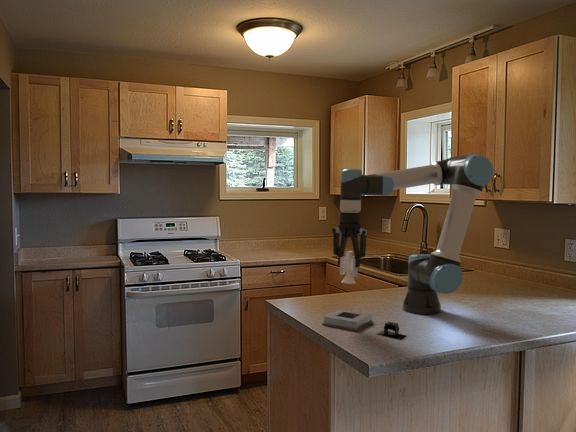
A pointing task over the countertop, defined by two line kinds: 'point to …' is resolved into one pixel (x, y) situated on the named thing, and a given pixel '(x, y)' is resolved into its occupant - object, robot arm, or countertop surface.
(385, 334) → the black bracket mount
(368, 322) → the block
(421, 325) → the countertop surface
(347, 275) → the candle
